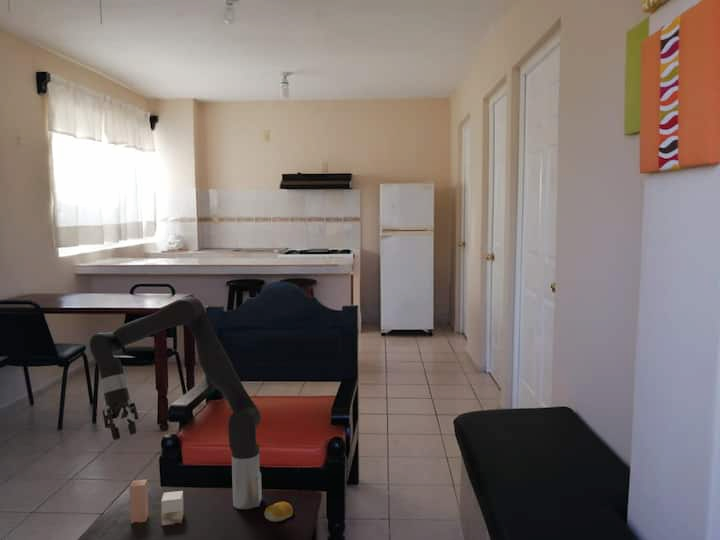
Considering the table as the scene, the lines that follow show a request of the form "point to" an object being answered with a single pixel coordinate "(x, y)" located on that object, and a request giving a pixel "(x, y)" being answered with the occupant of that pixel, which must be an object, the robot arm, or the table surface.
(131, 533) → the table surface
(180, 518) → the tower base
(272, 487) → the table surface
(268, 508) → the bread roll
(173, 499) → the white short block
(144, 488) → the pillar
